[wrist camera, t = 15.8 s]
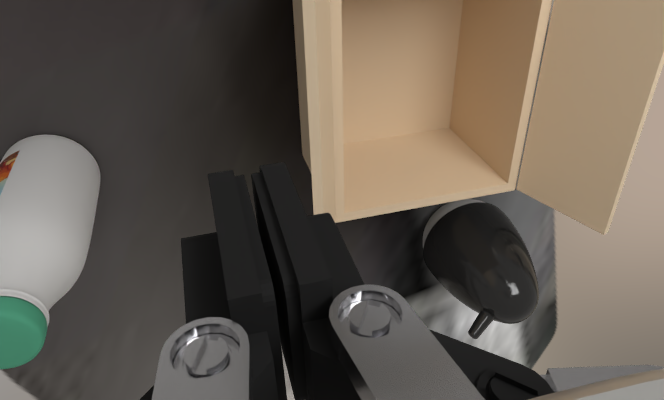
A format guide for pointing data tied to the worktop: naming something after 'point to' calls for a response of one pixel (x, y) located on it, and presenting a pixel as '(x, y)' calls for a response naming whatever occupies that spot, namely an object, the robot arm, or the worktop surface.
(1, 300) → the milk bottle
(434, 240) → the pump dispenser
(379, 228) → the worktop surface
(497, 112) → the carton
